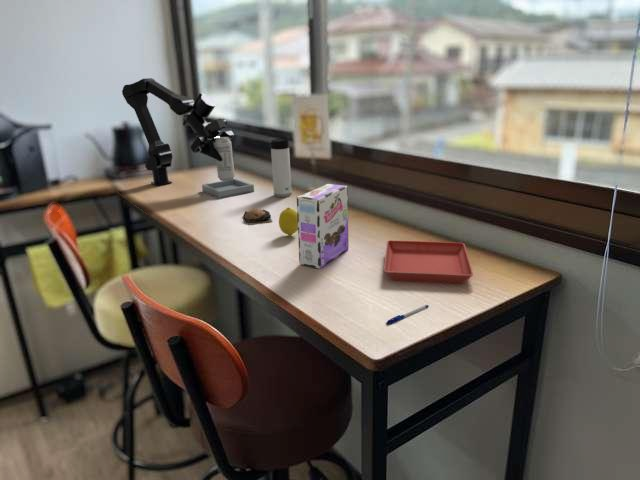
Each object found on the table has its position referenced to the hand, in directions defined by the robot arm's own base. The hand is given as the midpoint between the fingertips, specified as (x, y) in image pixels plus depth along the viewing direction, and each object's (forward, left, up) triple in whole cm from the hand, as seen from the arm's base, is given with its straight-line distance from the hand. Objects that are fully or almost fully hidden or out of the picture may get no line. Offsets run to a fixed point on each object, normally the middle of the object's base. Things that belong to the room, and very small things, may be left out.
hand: (227, 158), depth 172 cm
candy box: (+73, -12, -12) cm, 75 cm away
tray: (-1, 0, -12) cm, 12 cm away
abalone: (+35, -9, -13) cm, 39 cm away
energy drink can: (-1, -1, -8) cm, 8 cm away
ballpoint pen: (+105, -18, -13) cm, 107 cm away
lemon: (+55, -10, -12) cm, 57 cm away
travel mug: (+18, +12, -12) cm, 25 cm away
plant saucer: (+93, +1, -13) cm, 94 cm away
